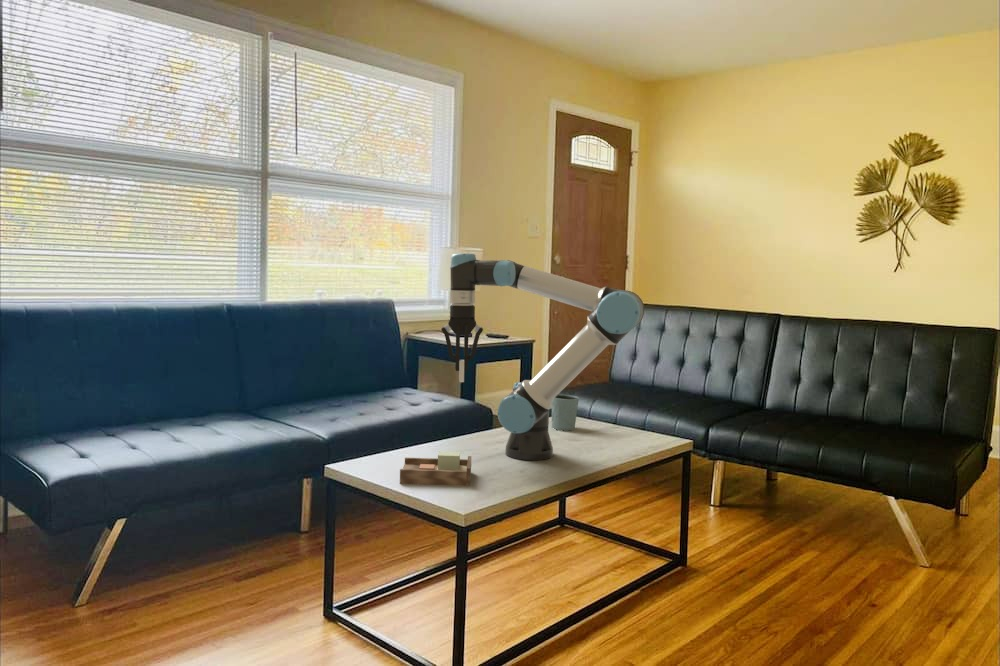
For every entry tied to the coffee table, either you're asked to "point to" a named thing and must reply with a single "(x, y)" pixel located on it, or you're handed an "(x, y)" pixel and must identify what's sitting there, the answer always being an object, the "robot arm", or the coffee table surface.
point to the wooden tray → (435, 473)
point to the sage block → (448, 460)
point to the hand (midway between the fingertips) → (461, 381)
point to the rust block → (427, 467)
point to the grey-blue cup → (564, 412)
